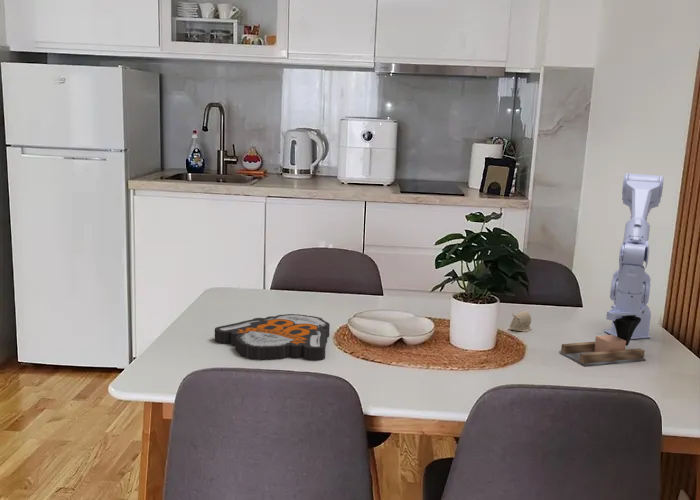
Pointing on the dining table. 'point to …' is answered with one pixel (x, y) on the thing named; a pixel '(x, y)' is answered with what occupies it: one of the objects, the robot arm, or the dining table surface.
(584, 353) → the walnut chute
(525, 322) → the decorative ornament
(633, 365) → the dining table surface
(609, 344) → the block
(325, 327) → the decorative emblem
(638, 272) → the robot arm
